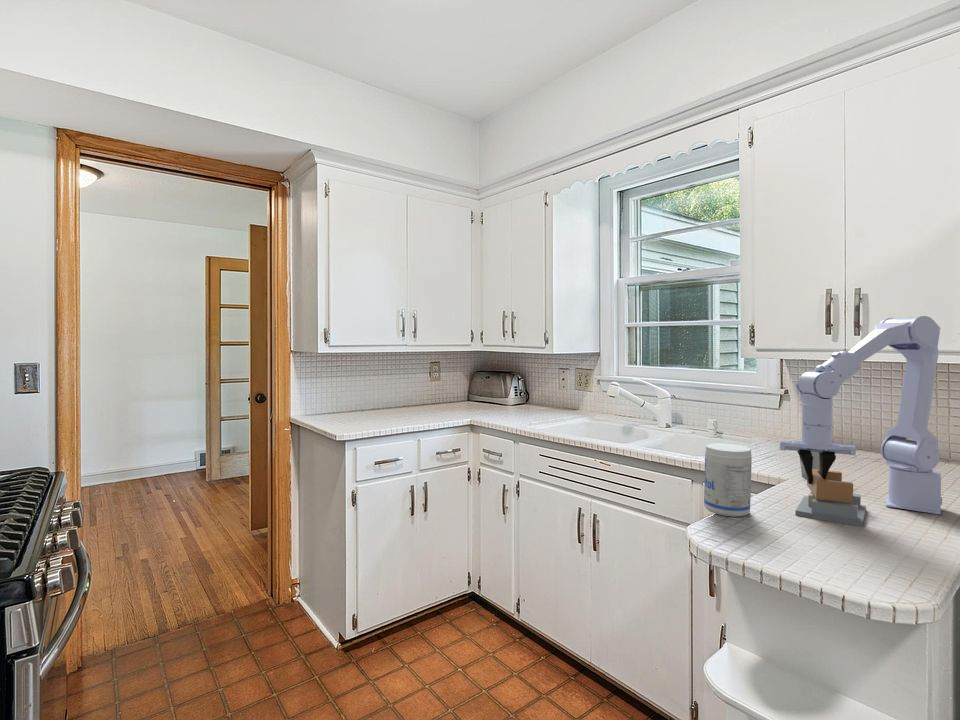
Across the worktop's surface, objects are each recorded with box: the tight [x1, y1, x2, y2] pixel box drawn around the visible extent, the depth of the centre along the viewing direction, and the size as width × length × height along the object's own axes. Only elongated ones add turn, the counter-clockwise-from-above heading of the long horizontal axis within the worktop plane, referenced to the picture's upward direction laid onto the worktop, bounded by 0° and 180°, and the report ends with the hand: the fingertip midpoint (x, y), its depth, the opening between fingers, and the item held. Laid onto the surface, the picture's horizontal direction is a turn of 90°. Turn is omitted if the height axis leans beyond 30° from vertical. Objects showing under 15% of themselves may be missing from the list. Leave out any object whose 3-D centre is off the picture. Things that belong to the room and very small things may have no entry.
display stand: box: [795, 491, 867, 528], centre depth 116 cm, size 12×14×4 cm
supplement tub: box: [703, 442, 753, 518], centre depth 117 cm, size 10×10×15 cm
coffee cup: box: [799, 448, 820, 479], centre depth 147 cm, size 7×7×10 cm
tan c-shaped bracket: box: [806, 469, 854, 503], centre depth 117 cm, size 7×12×4 cm, turn 156°
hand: (815, 483), depth 118 cm, fingers closed on tan c-shaped bracket, 2 cm apart
